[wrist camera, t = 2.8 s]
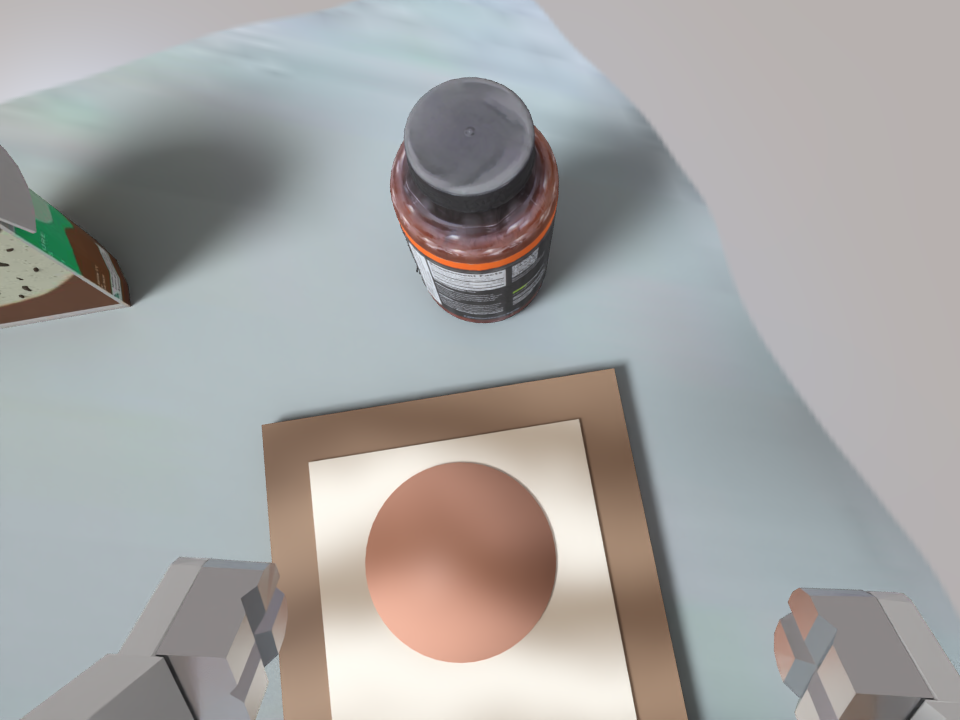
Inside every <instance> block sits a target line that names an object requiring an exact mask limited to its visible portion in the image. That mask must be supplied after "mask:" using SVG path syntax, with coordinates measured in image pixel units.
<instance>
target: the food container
mask: <svg viewBox="0 0 960 720" xmlns="http://www.w3.org/2000/svg"><path fill="white" fill-rule="evenodd" d="M130 306H131V304H130V297H129V289H128V284H127V282H126V280H125V277H124V275H123V273H122V271H121V269H120V267H119V265H118V263H117V261H116V259H115V258H114V257H113V256H112V255H111V254H110V253H109V252H108V251H107V250H106V249H105V248H104V247H102V246H101V245H100V244H99V243H98V242H97V241H96V240H95V239H94V238H92V237H91V236H90V235H88V234H87V233H86V232H85V231H83V230H82V229H81V228H79V227H78V226H77V225H76V224H74V223H73V222H72V221H70V220H69V219H68V218H67V217H65V216H64V215H63V214H61V213H60V212H59V211H58V210H56V209H55V208H54V207H52V206H51V205H50V204H49V203H47V202H46V201H45V200H43V199H42V198H41V197H40V196H38V195H37V194H36V193H34V192H33V191H32V190H31V189H29V188H28V186H27V184H26V182H25V180H24V177H23V175H22V173H21V171H20V169H19V167H18V166H17V164H16V163H15V162H14V160H13V159H12V158H11V157H10V155H9V154H8V153H7V151H6V150H5V149H4V148H3V147H2V146H1V145H0V329H2V328H8V327H14V326H20V325H26V324H32V323H37V322H43V321H49V320H55V319H61V318H66V317H72V316H78V315H84V314H90V313H96V312H101V311H107V310H113V309H119V308H125V307H130Z"/></svg>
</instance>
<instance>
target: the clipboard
mask: <svg viewBox="0 0 960 720" xmlns="http://www.w3.org/2000/svg"><path fill="white" fill-rule="evenodd" d="M262 436H263V449H264V462H265V476H266V489H267V502H268V516H269V529H270V542H271V555H272V563H276V566H277V569H278V572H279V575H280V578H279V580H278V583H277V586H276V587H277V588H278V589H279V590H280V591H282V592H283V593H284V594H285V597H286V601H287V610H288V618H287V624H286V630H285V636H284V639H283V642H282V645H281V648H280V651H279V662H280V675H281V688H282V701H283V715H284V720H688V718H687V713H686V708H685V703H684V699H683V694H682V689H681V684H680V680H679V675H678V670H677V665H676V660H675V656H674V651H673V646H672V641H671V637H670V632H669V627H668V622H667V618H666V613H665V608H664V603H663V599H662V594H661V589H660V584H659V580H658V575H657V570H656V565H655V561H654V556H653V551H652V546H651V541H650V537H649V532H648V527H647V522H646V518H645V513H644V508H643V503H642V499H641V494H640V489H639V484H638V480H637V475H636V470H635V465H634V461H633V456H632V451H631V446H630V442H629V437H628V432H627V427H626V422H625V418H624V413H623V408H622V403H621V399H620V394H619V389H618V384H617V380H616V375H615V370H614V368H613V369H606V370H600V371H594V372H588V373H582V374H575V375H569V376H563V377H557V378H551V379H544V380H538V381H532V382H526V383H520V384H513V385H507V386H501V387H495V388H489V389H482V390H476V391H470V392H464V393H457V394H451V395H445V396H439V397H433V398H426V399H420V400H414V401H408V402H402V403H395V404H389V405H383V406H377V407H371V408H364V409H358V410H352V411H346V412H339V413H333V414H327V415H321V416H315V417H308V418H302V419H296V420H290V421H284V422H277V423H271V424H265V425H262Z"/></svg>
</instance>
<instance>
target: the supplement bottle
mask: <svg viewBox="0 0 960 720" xmlns="http://www.w3.org/2000/svg"><path fill="white" fill-rule="evenodd" d="M390 188H391V189H390V192H391V198H392V202H393V206H394V209H395V212H396V215H397V218H398V220H399V222H400V226H401V229H402V231H403V234H404V235H405V237H406V241H407V243H408V246H409V248H410V251H411V253H412V255H413V258H414V260H415V262H416V264H417V270H416V272H418V270H419V274H421V276H422V280H423V282H424V284H425V286H426V287H427V289H428V291H429V293H430V294H431V296H432V297H433V299H434V300H435V301H436V302H437V303H438V305H439V306H441V307H442V308H443V309H444V310H445V311H447V312H448V313H449V314H451V315H453V316H455V317H457V318H459V319H462V320H465V321H469V322H475V323H492V322H497V321H502V320H504V319H506V318H508V317H511V316H513V315H515V314H516V313H518V312H520V311H521V310H522V309H523V308H525V307H526V306H527V305H528V304H529V303H530V302H531V300H532V299H533V298H534V297H535V296H536V294H537V292H538V291H539V289H540V287H541V284H542V281H543V279H544V276H545V272H546V267H547V261H548V256H549V249H550V243H551V238H552V232H553V226H554V219H555V214H556V206H557V201H558V188H559V177H558V169H557V164H556V159H555V157H554V154H553V152H552V149H551V147H550V145H549V143H548V142H547V140H546V139H545V137H544V136H543V135H542V133H541V132H540V131H539V130H538V129H537V128H536V127H535V126H534V124H533V121H532V117H531V114H530V112H529V110H528V109H527V107H526V105H525V104H524V102H523V101H522V100H521V99H520V98H519V97H518V95H517V94H515V93H514V92H513V91H512V90H510V89H509V88H507V87H506V86H504V85H502V84H499V83H497V82H494V81H492V80H487V79H482V78H477V77H467V78H459V79H452V80H449V81H446V82H444V83H442V84H440V85H438V86H436V87H434V88H432V89H431V90H430V91H429V92H427V93H426V94H425V95H424V96H422V97H421V98H420V99H419V101H418V102H417V103H416V104H415V105H414V107H413V109H412V111H411V112H410V114H409V117H408V119H407V122H406V126H405V129H404V141H403V142H402V144H401V146H400V148H399V150H398V152H397V155H396V157H395V159H394V162H393V166H392V170H391V179H390Z"/></svg>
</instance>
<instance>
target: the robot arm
mask: <svg viewBox="0 0 960 720" xmlns="http://www.w3.org/2000/svg"><path fill="white" fill-rule="evenodd" d="M279 578H280V575H279V572H278V569H277V566H276V563H266V562H252V561H238V560H223V559H212V558H194V557H179V558H178V559H177V560H175V561H174V562H173V563H172V564H171V565H170V566H169V567H168V569H167V571H166V573H165V574H164V576H163V578H162V579H161V581H160V583H159V584H158V586H157V588H156V589H155V591H154V593H153V595H152V596H151V598H150V600H149V601H148V603H147V605H146V606H145V608H144V610H143V611H142V613H141V615H140V617H139V618H138V620H137V622H136V623H135V625H134V627H133V628H132V630H131V632H130V633H129V635H128V637H127V638H126V640H125V642H124V644H123V645H122V647H121V649H120V650H119V652H118V654H107V655H105V656H104V657H103V658H101V659H100V660H99V661H97V662H96V663H95V664H93V665H92V666H91V667H89V668H88V669H87V670H85V671H84V672H82V673H81V674H80V675H78V676H77V677H76V678H74V679H73V680H72V681H70V682H69V683H68V684H66V685H65V686H64V687H62V688H61V689H60V690H58V691H57V692H56V693H54V694H53V695H52V696H50V697H49V698H48V699H46V700H45V701H44V702H42V703H41V704H40V705H38V706H37V707H36V708H34V709H33V710H32V711H30V712H29V713H28V714H26V715H25V716H24V717H22V718H21V719H20V720H255V719H256V717H257V714H258V711H259V708H260V705H261V702H262V700H263V697H264V694H265V691H266V688H267V686H268V683H269V681H268V678H267V675H266V672H265V669H264V667H265V666H266V665H267V664H268V663H269V662H271V661H272V660H273V659H274V658H275V657H276V656H277V655H278V654H279V651H280V648H281V645H282V642H283V639H284V636H285V630H286V624H287V618H288V610H287V601H286V597H285V594H284V593H283V592H282V591H280V590H279V589H278V588H277V587H276V586H277V583H278V580H279ZM788 604H789V606H790V608H791V611H792V613H790V614H788V615H787V616H785V617H783V618H781V619H780V620H779V623H778V625H777V628H776V630H775V633H774V652H775V657H776V662H777V666H778V669H779V672H780V675H781V677H782V680H783V683H784V684H785V685H787V686H788V687H789V688H790V689H791V690H792V691H793V692H794V693H795V694H796V695H797V696H798V697H799V700H798V703H797V706H796V709H795V712H794V713H795V715H796V718H797V720H960V676H959V674H958V672H957V671H956V669H955V668H954V666H953V665H952V663H951V661H950V660H949V658H948V657H947V655H946V654H945V652H944V650H943V649H942V647H941V646H940V644H939V643H938V641H937V639H936V638H935V636H934V635H933V633H932V632H931V630H930V628H929V627H928V625H927V624H926V622H925V620H924V619H923V617H922V616H921V614H920V613H919V611H918V609H917V608H916V606H915V605H914V603H913V602H912V600H911V599H909V598H908V597H907V596H906V595H905V594H903V593H898V592H875V591H863V590H850V589H820V588H798V589H797V590H795V591H793V592H792V594H791V596H790V598H789V601H788Z"/></svg>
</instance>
